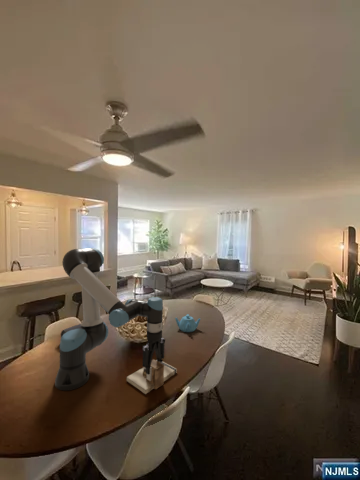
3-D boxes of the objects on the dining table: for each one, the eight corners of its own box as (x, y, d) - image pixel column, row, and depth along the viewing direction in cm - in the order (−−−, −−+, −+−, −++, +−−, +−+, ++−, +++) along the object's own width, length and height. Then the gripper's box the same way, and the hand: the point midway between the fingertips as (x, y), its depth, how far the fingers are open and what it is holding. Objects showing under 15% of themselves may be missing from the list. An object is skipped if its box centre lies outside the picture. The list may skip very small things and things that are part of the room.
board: (145, 394, 103) (145, 389, 103) (126, 380, 112) (126, 376, 112) (176, 372, 120) (176, 368, 120) (158, 362, 129) (158, 359, 129)
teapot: (201, 329, 176) (201, 316, 176) (188, 335, 166) (188, 320, 166) (187, 323, 187) (187, 311, 187) (174, 328, 177) (174, 315, 177)
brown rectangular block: (156, 389, 106) (156, 369, 105) (139, 378, 113) (140, 359, 113) (163, 384, 109) (164, 364, 109) (147, 374, 117) (147, 356, 117)
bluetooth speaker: (67, 347, 143) (67, 331, 143) (60, 342, 149) (60, 327, 148) (98, 335, 161) (99, 321, 161) (91, 331, 167) (92, 318, 167)
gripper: (145, 338, 101) (144, 389, 101) (172, 326, 114) (171, 371, 115) (135, 333, 105) (133, 382, 106) (162, 322, 119) (160, 366, 120)
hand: (153, 376), depth 110 cm, fingers closed on brown rectangular block, 5 cm apart
